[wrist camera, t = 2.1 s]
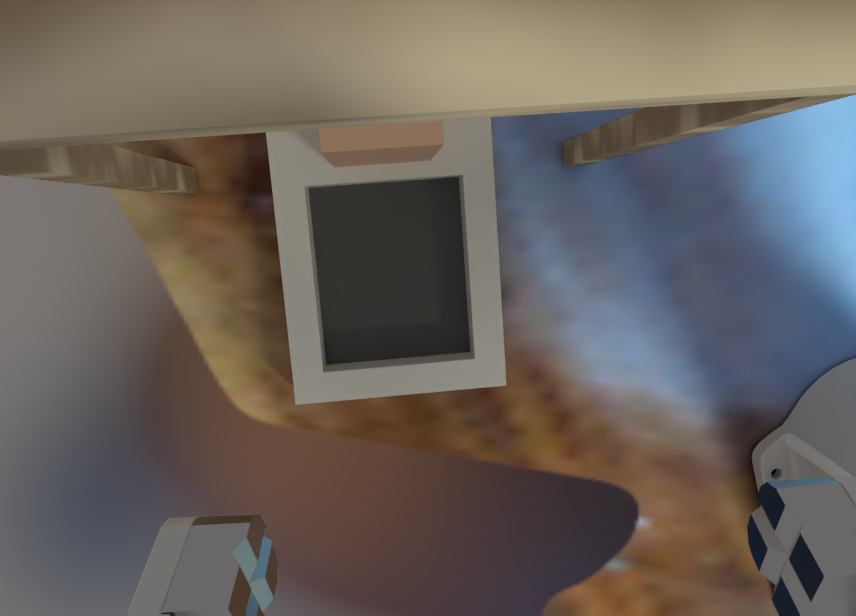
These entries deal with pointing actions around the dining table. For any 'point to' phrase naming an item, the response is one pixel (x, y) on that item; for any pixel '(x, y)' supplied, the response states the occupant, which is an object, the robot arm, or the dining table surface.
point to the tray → (389, 268)
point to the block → (381, 143)
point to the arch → (395, 72)
